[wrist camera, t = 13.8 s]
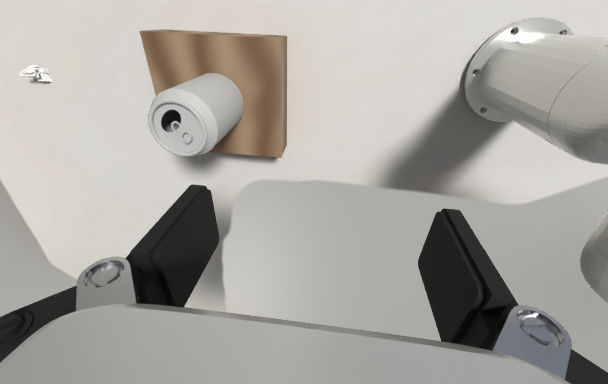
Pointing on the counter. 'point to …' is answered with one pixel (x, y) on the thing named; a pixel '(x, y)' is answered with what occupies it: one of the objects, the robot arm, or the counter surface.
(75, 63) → the counter surface
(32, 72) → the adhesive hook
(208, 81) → the can
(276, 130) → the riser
